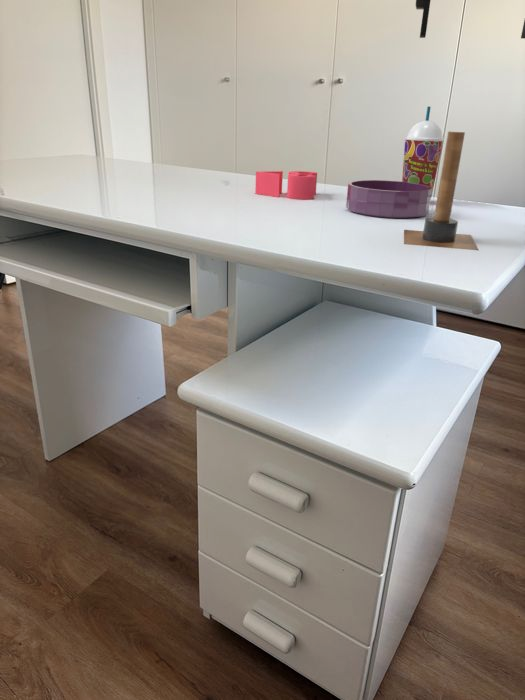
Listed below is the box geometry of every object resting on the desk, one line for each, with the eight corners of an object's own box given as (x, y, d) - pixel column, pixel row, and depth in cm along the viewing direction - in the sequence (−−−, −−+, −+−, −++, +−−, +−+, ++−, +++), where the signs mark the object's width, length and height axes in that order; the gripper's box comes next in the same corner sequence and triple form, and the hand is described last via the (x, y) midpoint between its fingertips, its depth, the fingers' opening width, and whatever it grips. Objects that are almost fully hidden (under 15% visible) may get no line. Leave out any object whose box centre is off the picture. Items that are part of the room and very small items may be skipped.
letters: (251, 196, 123) (252, 173, 121) (259, 190, 132) (259, 169, 130) (313, 200, 121) (314, 176, 119) (316, 193, 130) (317, 172, 128)
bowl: (426, 209, 114) (430, 183, 112) (429, 224, 100) (433, 193, 97) (349, 204, 117) (352, 178, 115) (342, 217, 103) (344, 188, 101)
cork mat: (470, 237, 90) (471, 234, 90) (478, 253, 80) (479, 250, 80) (403, 232, 92) (404, 229, 92) (403, 247, 83) (403, 243, 82)
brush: (453, 237, 88) (472, 132, 81) (455, 243, 83) (476, 133, 77) (421, 234, 89) (438, 130, 82) (422, 241, 84) (439, 131, 78)
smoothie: (402, 204, 119) (415, 106, 111) (392, 198, 127) (404, 105, 118) (439, 205, 120) (455, 107, 111) (427, 199, 127) (441, 107, 119)
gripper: (402, -170, 65) (380, 33, 73) (631, -186, 60) (578, 34, 68) (402, -144, 71) (382, 39, 80) (609, -157, 66) (563, 40, 75)
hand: (473, 37), depth 74 cm, fingers open, 13 cm apart
